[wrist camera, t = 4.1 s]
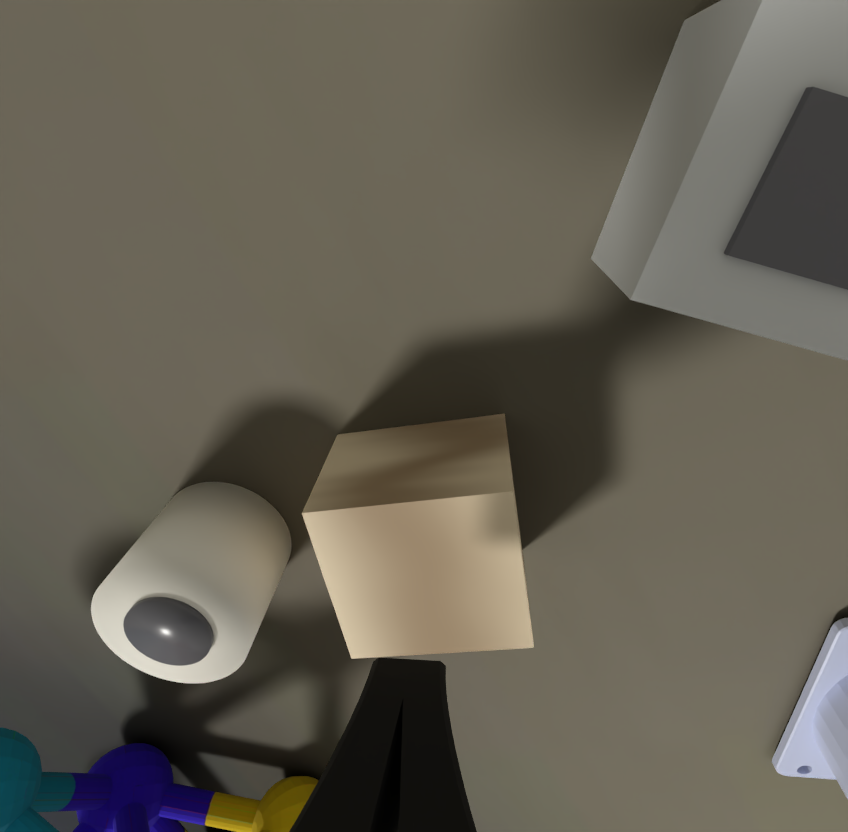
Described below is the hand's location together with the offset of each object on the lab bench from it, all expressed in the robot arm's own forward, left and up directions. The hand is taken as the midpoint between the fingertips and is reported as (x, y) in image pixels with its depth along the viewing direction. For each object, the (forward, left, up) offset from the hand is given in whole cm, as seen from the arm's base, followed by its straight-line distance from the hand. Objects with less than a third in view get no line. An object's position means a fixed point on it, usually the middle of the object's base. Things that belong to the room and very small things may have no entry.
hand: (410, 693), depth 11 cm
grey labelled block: (-7, -9, -7) cm, 13 cm away
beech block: (0, 0, -7) cm, 7 cm away
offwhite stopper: (+7, +2, -7) cm, 10 cm away
